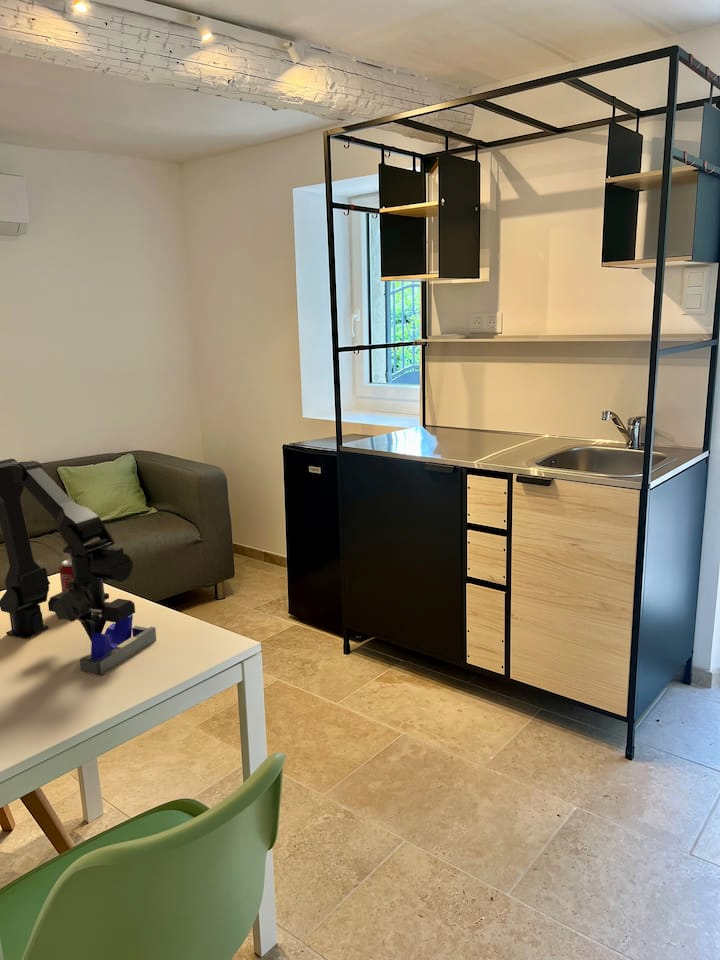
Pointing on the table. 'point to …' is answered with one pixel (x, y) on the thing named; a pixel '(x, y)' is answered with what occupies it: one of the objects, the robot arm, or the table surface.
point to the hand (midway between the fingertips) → (95, 643)
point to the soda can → (66, 574)
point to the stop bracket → (120, 652)
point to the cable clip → (111, 638)
